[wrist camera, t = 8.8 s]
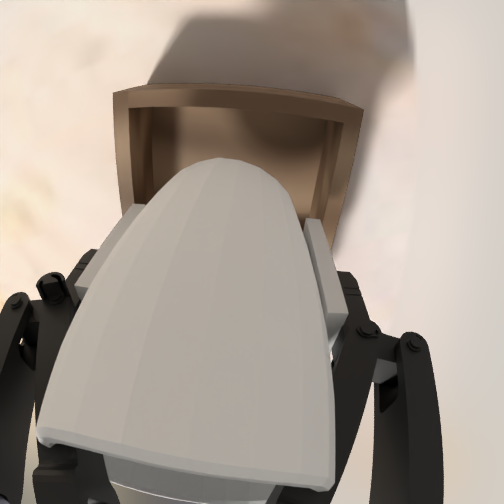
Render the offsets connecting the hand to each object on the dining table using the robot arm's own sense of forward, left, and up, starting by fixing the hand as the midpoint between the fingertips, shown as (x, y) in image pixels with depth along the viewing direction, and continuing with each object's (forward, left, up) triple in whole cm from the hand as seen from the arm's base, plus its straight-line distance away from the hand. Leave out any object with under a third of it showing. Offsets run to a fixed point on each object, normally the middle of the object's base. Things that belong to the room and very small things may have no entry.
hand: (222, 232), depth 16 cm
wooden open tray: (+3, 0, -8) cm, 9 cm away
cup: (0, 0, -2) cm, 2 cm away
